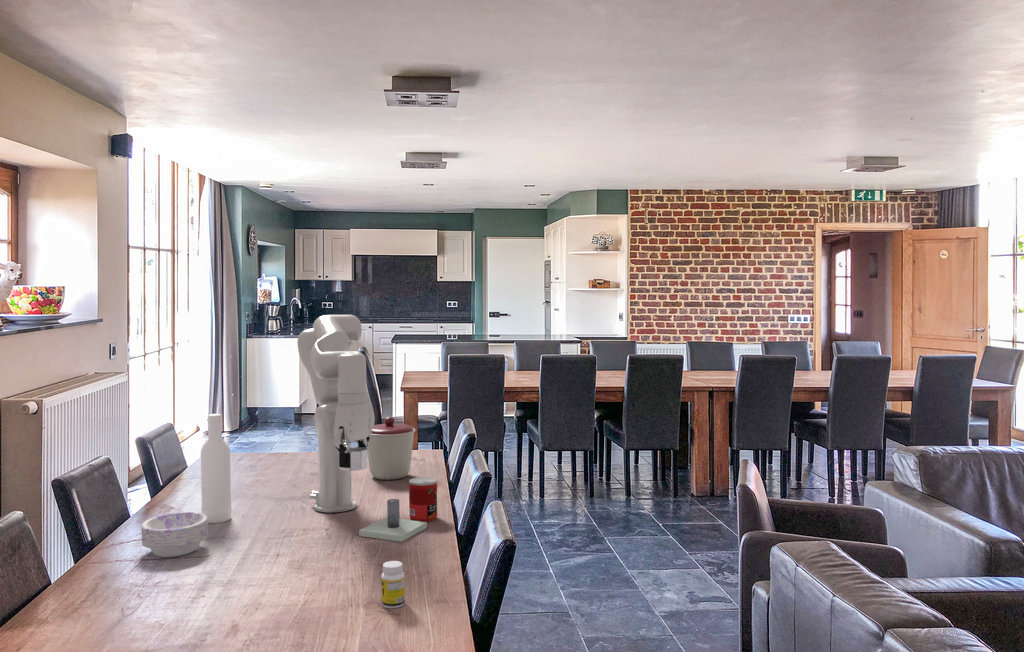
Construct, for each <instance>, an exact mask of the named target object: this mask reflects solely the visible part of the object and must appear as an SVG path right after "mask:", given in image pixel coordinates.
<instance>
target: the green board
mask: <svg viewBox="0 0 1024 652" xmlns="http://www.w3.org/2000/svg"><path fill="white" fill-rule="evenodd" d="M427 526H428V522H420V521H413V520H411V519H403V518H400V526H399V527H397V528H389V527H388V523H387V517H386V516H385V517H383V518H381V519H379V520H377V521H375V522H373V523H371V524H369V525H368V526H365V527H363V528H361V529H359V531H358V532H359V533H358V534H359V537H365V538H372V539H380V540H388V541H393V542H399V543H400V542H404V541H406V540H407V539H409V538H411V537H413V536H415V535H416V534H418V533H420V532H423V530H426V529H427Z"/></svg>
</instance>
